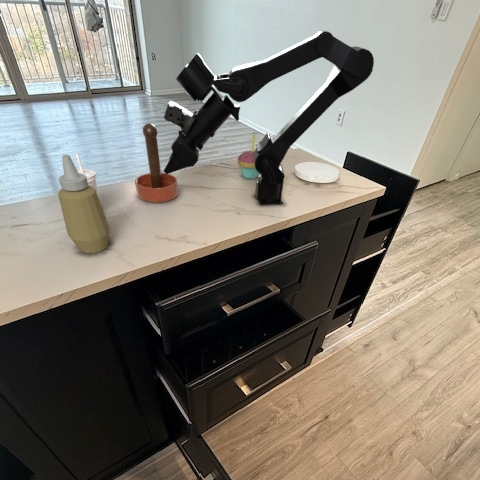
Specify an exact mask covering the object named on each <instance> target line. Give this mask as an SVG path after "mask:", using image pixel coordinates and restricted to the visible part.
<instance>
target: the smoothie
mask: <svg viewBox="0 0 480 480" xmlns="http://www.w3.org/2000/svg"><path fill="white" fill-rule="evenodd" d="M74 154H75V157H76V160H77V164H78V167H79V168H76V169H77V171H78V173H81V174H84V175H85V176H86V177H87V181H88V185H90V186H91V187H93V188H94V189H95V190H96V193H97V196H98V197H99V193H98V186H97V173H96V171H94V170H93V169H89V168H83V166H82V162H81V161H82V160H81V158H80V155H79V152H75V153H74Z"/></svg>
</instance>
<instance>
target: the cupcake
mask: <svg viewBox="0 0 480 480" xmlns="http://www.w3.org/2000/svg"><path fill="white" fill-rule="evenodd" d="M255 133H256V132H255V131H253V135H252V140H251V141H252V142H251V150H245V151H243V152H241V153H240V154H239V155H238V156H237V165H238V166H239V167H240V169H241V173H242V174H241V175H242V177H243V178H245V179H256V178H258V176H259V175H260V173H259V172H258V171H257V170H256V168H255V162H254V152H255V141H256V140H255V139H256V134H255Z"/></svg>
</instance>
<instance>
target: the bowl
mask: <svg viewBox="0 0 480 480" xmlns="http://www.w3.org/2000/svg"><path fill="white" fill-rule="evenodd" d="M161 177H162V185H163V187H162V188H152V183H151V176H150V172H149V173H143V174H141V175H139V176H137V177H136V178H135V180H134V185H135V190H136V191H135V192H136V195H137V197H138V198H139V200H142V201H145V202H148V203H157V204H159V203H165V202H170V201H172V200H174V199H175V198H177V197H178V196H179V185H178V184H179V182H178V178H177V177H176V176H175V175H172V174H171V173H169V174H166V173H165V172H161Z"/></svg>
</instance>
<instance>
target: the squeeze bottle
mask: <svg viewBox="0 0 480 480" xmlns="http://www.w3.org/2000/svg"><path fill="white" fill-rule="evenodd" d="M61 159H62V168H63V174H62V175H61V176H59V177H58V183H59V185H60V187H61V188H60V189H59V191H58V193H57V196H58V200H59V204H60V208H61V213H62V216H63V220H64V225H65V229H66V234H67V236H68V237H69V239H71V241H72V242H73V243H74V244H75V246H76V247H77V248H78V249H79V251H80V252H81V253H85V254H96V253H99V252H103V251H104V250H106V249H107V248H108V246H109V238H110V232H111V231H110V225H109V222H108V219H107V217H106V215H105V211H104V209H103V206H102V204H101V201H100V199H99V195H98V196H97V193H96V190H95V189H94V188H93V187H91V186H90V185H88V181H87V177H86V176H85V175H84V174H81V173H78V171H77V169H78V168H77V166H76V165H75V163H74V161H73V159H72V158H71V156H70V155H69V154H63V155H62V156H61Z"/></svg>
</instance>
